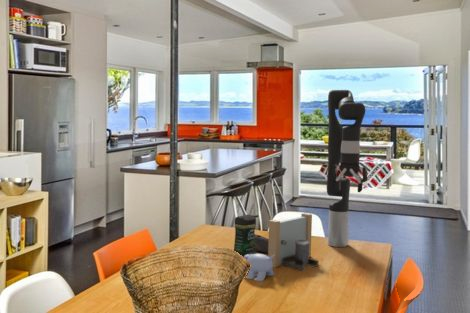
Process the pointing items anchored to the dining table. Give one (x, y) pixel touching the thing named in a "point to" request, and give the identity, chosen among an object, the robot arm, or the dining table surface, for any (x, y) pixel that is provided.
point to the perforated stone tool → (261, 243)
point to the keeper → (291, 263)
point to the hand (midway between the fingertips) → (348, 191)
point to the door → (288, 236)
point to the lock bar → (302, 252)
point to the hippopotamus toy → (259, 266)
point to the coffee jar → (245, 234)
